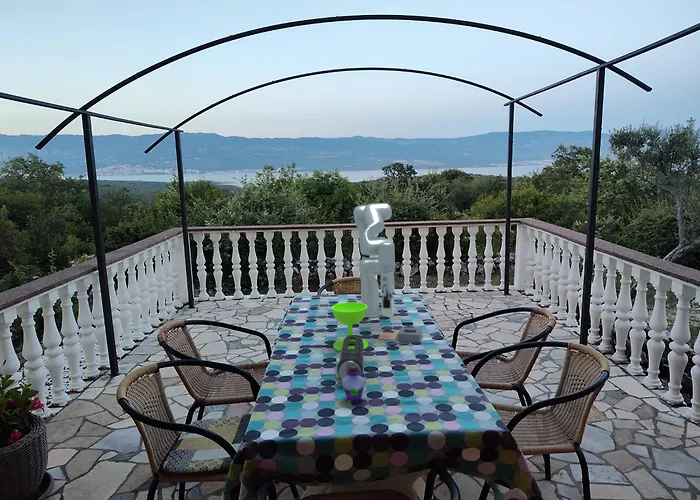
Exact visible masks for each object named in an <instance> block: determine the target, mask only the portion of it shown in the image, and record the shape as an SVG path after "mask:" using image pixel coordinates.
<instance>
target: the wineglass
mask: <svg viewBox="0 0 700 500" xmlns="http://www.w3.org/2000/svg"><path fill="white" fill-rule="evenodd" d="M331 311H332V312H331V313H332V314H333V317H334V318H335V319H336V321H337V322H339V323H341V324H343V325H347V333H348V334H347V336H350V335H354V334H353V333H354V332H353V325H356V324H359V323H360V322H362V321H363V319H364V318H366V317H365V315H366V312H367V305H365V304H363V303H362V302H356V301H349V302H339V303H336V304H334V305H332V306H331ZM345 338H346V337H344V338H341V339H338V340H336V341H335V342H334V343H333V345H332V347H333V349H335V351H336V350H337V351H340V352H341V350H342V345H343V341H344V339H345ZM361 339H362V340H363V343H364V349H363V351H364V350H365V349H367V348H368V347H369V343H368V342H367V341H366V340H365V339H363V338H361ZM349 341H356V340H349ZM348 349H355V346H349V347H348Z"/></svg>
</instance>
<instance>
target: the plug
mask: <svg viewBox="0 0 700 500" xmlns="http://www.w3.org/2000/svg"><path fill="white" fill-rule="evenodd" d="M380 299H381V300H380V301H381V312H382V315H381V316H382V317H393V316H394V315H395V310H394V309H395V308H394V307H395V306H394V302H395V301H394V295H392V296H389V300H390V308H383V295H382V296H381V297H380Z"/></svg>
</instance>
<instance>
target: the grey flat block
mask: <svg viewBox="0 0 700 500" xmlns="http://www.w3.org/2000/svg"><path fill="white" fill-rule="evenodd" d="M397 333H398V335H397V341H398V342H408V343H409V342H410V343H411V342H412V343H420V342H421V340H422V337H423V328H419V327H417V328H416V327H400V329H399V331H398V332H397Z"/></svg>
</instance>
